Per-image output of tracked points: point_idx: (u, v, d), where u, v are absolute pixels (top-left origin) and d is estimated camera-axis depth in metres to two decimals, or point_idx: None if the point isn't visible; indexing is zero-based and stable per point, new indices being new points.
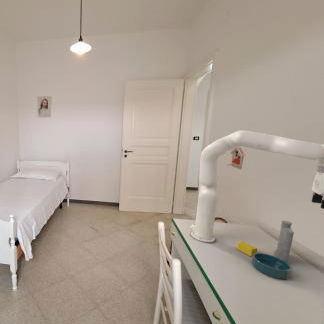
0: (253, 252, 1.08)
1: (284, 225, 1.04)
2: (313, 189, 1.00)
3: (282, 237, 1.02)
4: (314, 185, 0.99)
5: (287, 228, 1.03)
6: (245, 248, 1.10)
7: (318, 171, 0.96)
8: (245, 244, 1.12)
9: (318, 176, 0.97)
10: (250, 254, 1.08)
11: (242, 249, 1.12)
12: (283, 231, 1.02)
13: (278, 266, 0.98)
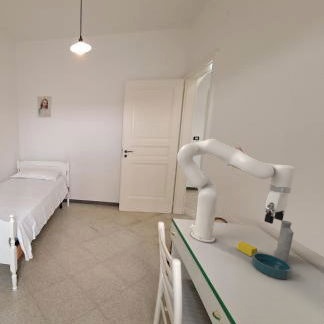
0: (253, 252, 1.08)
1: (284, 225, 1.04)
2: None
3: (282, 237, 1.02)
4: None
5: (287, 228, 1.03)
6: (245, 248, 1.10)
7: (269, 188, 1.05)
8: (245, 244, 1.12)
9: None
10: (250, 254, 1.08)
11: (242, 249, 1.12)
12: (283, 231, 1.02)
13: (278, 266, 0.98)
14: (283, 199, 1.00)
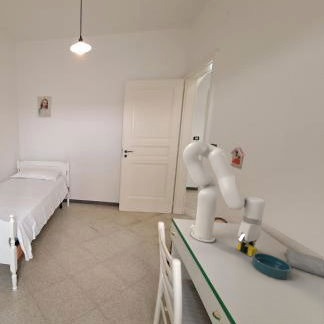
0: (253, 252, 1.08)
1: None
2: None
3: None
4: None
5: None
6: None
7: None
8: None
9: None
10: (250, 254, 1.08)
11: None
12: None
13: (278, 266, 0.98)
14: (254, 230, 1.07)
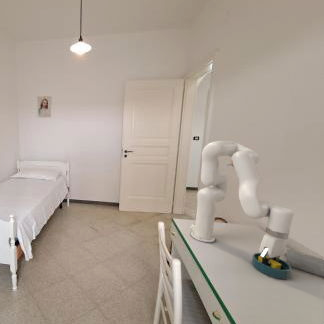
0: (277, 268, 0.94)
1: None
2: None
3: None
4: None
5: None
6: None
7: None
8: None
9: None
10: None
11: None
12: None
13: None
14: (279, 244, 0.93)
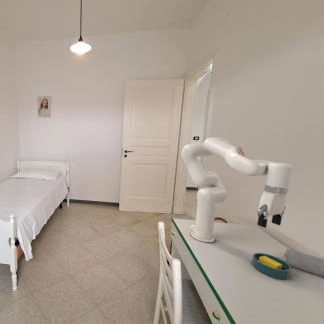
0: None
1: None
2: None
3: None
4: None
5: None
6: (268, 264, 0.96)
7: (264, 189, 0.95)
8: (268, 259, 0.98)
9: None
10: None
11: None
12: None
13: None
14: (278, 201, 0.90)
